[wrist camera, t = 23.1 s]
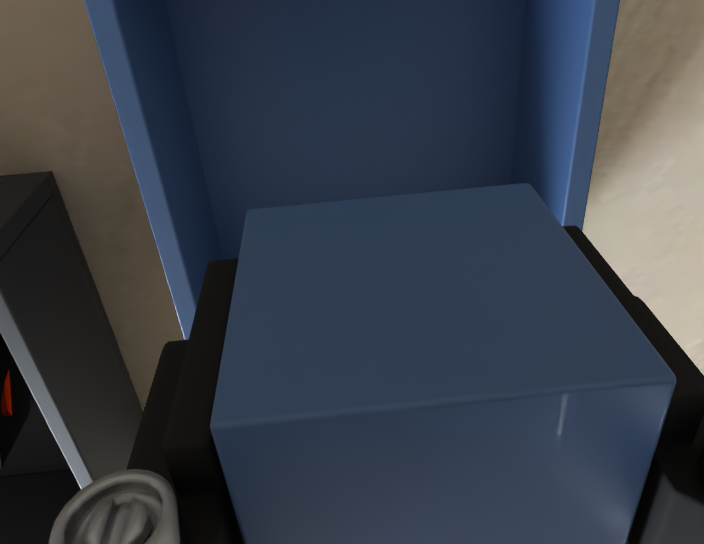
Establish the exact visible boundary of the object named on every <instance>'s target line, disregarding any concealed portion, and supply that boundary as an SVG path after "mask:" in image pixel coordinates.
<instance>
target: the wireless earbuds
mask: <svg viewBox="0 0 704 544" xmlns="http://www.w3.org/2000/svg"><path fill="white" fill-rule="evenodd" d="M30 409H31V404H30V389H29V387H28V385H27V383H26V381H25V379H24V377H23V376H22V374H21V372H20V370H19V368H18V366H17V364H16V362H15V360H14V358H13V356H12V354H11V352H10V350H9V348H8V346H7V344H6V342H5V341H4V339H3V337H2V335H1V333H0V470H1V468H2V466H3V464H4V462H5V461H6V459H7V457H8V455H9V453H10V451H11V449H12V447H13V445H14V443H15V441H16V439H17V437H18V435H19V433H20V431H21V429H22V427H23V426H24V424H25V422H26V420H27V418H28V416H29V413H30Z"/></svg>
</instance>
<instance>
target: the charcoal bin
mask: <svg viewBox="0 0 704 544" xmlns="http://www.w3.org/2000/svg"><path fill="white" fill-rule="evenodd" d="M0 333H1V335H2V337H3V339H4V341H5V342H6V344H7V346H8V348H9V350H10V352H11V354H12V356H13V358H14V360H15V362H16V364H17V366H18V368H19V370H20V372H21V374H22V376H23V377H24V379H25V381H26V383H27V385H28V387H29V389H30V404H31V409H30V413H29V416H28V418H27V420H26V422H25V424H24V426H23V427H22V429H21V431H20V433H19V435H18V437H17V439H16V441H15V443H14V445H13V447H12V449H11V451H10V453H9V455H8V457H7V459H6V461H5V462H4V464H3V466H2V468H1V470H0V544H49V538H50V535H51V531H52V528H53V525H54V522H55V520H56V518H57V517H58V515H59V514H60V512H61V511H62V509H63V507H64V506H65V505H66V504H67V503H68V502H69V501H70V500H71V499H72V498H73V497H74V496H75V495H76V494H77V493H78V492H79V491H80V490H81V489H83V488H84V487H86V486H87V485H89V484H90V483H92V482H93V481H95V480H96V479H99V478H101V477H104V476H106V475H109V474H111V473H114V472H117V471H123V470H126V469H127V465H128V462H129V459H130V455H131V452H132V449H133V445H134V442H135V439H136V435H137V432H138V429H139V426H140V422H141V419H142V416H143V411H142V408H141V406H140V403H139V400H138V398H137V395H136V392H135V390H134V387H133V384H132V382H131V379H130V377H129V374H128V371H127V369H126V366H125V363H124V361H123V358H122V355H121V353H120V350H119V348H118V345H117V342H116V340H115V337H114V334H113V332H112V329H111V326H110V324H109V321H108V319H107V316H106V313H105V311H104V308H103V305H102V303H101V300H100V297H99V295H98V292H97V290H96V287H95V284H94V282H93V279H92V276H91V274H90V271H89V268H88V266H87V263H86V261H85V258H84V255H83V253H82V250H81V247H80V245H79V242H78V239H77V237H76V234H75V232H74V229H73V226H72V224H71V221H70V218H69V216H68V213H67V210H66V208H65V205H64V203H63V200H62V197H61V195H60V192H59V189H58V187H57V184H56V181H55V179H54V176H53V174H52V172H40V173H29V174H18V175H8V176H0Z"/></svg>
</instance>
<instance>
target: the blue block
mask: <svg viewBox="0 0 704 544" xmlns="http://www.w3.org/2000/svg"><path fill="white" fill-rule="evenodd" d="M675 385H676V377H675V374H674V373H673V372H672V370H671V369H670V368H669V366H668V365H667V364H666V362H665V361H664V360H663V358H662V357H661V356H660V355H659V353H658V352H657V351H656V349H655V348H654V347H653V345H652V344H651V343H650V341H649V340H648V339H647V337H646V336H645V335H644V333H643V332H642V331H641V329H640V328H639V327H638V326H637V324H636V323H635V322H634V320H633V319H632V318H631V316H630V315H629V314H628V312H627V311H626V310H625V308H624V307H623V306H622V304H621V303H620V302H619V301H618V299H617V298H616V297H615V295H614V294H613V293H612V291H611V290H610V289H609V287H608V286H607V285H606V283H605V282H604V281H603V279H602V278H601V277H600V275H599V274H598V273H597V272H596V270H595V269H594V268H593V266H592V265H591V264H590V262H589V261H588V260H587V258H586V257H585V256H584V254H583V253H582V252H581V250H580V249H579V248H578V246H577V245H576V244H575V243H574V241H573V240H572V239H571V237H570V236H569V235H568V233H567V232H566V231H565V229H564V228H563V227H562V225H561V224H560V223H559V221H558V220H557V219H556V218H555V216H554V215H553V214H552V212H551V211H550V210H549V208H548V207H547V206H546V204H545V203H544V202H543V200H542V199H541V198H540V196H539V195H538V194H537V192H536V191H535V190H534V189H533V187H532V186H531V185H530V184H529V183H520V184H510V185H499V186H489V187H479V188H468V189H458V190H447V191H437V192H427V193H416V194H406V195H396V196H385V197H375V198H364V199H354V200H344V201H333V202H323V203H313V204H302V205H292V206H281V207H271V208H261V209H250V210H248V211H247V213H246V219H245V225H244V230H243V236H242V242H241V248H240V254H239V259H238V265H237V271H236V277H235V283H234V288H233V294H232V300H231V306H230V312H229V318H228V323H227V329H226V335H225V341H224V347H223V352H222V358H221V364H220V370H219V376H218V382H217V387H216V393H215V399H214V405H213V411H212V416H211V422H210V429H211V432H212V436H213V439H214V442H215V446H216V449H217V453H218V456H219V459H220V463H221V466H222V470H223V473H224V476H225V480H226V483H227V487H228V490H229V493H230V497H231V500H232V504H233V507H234V510H235V514H236V517H237V521H238V524H239V527H240V531H241V534H242V538H243V541H244V544H626V543H627V540H628V537H629V534H630V530H631V527H632V524H633V521H634V518H635V514H636V511H637V508H638V505H639V501H640V498H641V495H642V492H643V488H644V485H645V482H646V479H647V476H648V472H649V469H650V466H651V463H652V459H653V456H654V453H655V450H656V446H657V443H658V440H659V437H660V434H661V430H662V427H663V424H664V421H665V417H666V414H667V411H668V408H669V404H670V401H671V398H672V395H673V392H674V388H675Z"/></svg>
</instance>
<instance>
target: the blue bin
mask: <svg viewBox="0 0 704 544" xmlns="http://www.w3.org/2000/svg"><path fill="white" fill-rule="evenodd" d="M84 2H85V6H86V9H87V12H88V16H89V19H90V22H91V26H92V29H93V33H94V36H95V39H96V43H97V46H98V50H99V53H100V56H101V60H102V63H103V66H104V70H105V73H106V77H107V80H108V83H109V87H110V90H111V93H112V97H113V100H114V104H115V107H116V110H117V114H118V117H119V120H120V124H121V127H122V131H123V134H124V137H125V141H126V144H127V147H128V151H129V154H130V158H131V161H132V164H133V168H134V171H135V174H136V178H137V181H138V185H139V188H140V191H141V195H142V198H143V202H144V205H145V208H146V212H147V215H148V218H149V222H150V225H151V229H152V232H153V235H154V239H155V242H156V245H157V249H158V252H159V256H160V259H161V262H162V266H163V269H164V272H165V276H166V279H167V283H168V286H169V289H170V293H171V296H172V299H173V303H174V306H175V310H176V313H177V316H178V320H179V323H180V326H181V330H182V333H183V337H184V340H189V336H190V332H191V328H192V324H193V320H194V316H195V312H196V308H197V304H198V300H199V296H200V292H201V288H202V284H203V280H204V276H205V272H206V268H207V264H208V262H209V261H214V260H224V259H234V258H239V254H240V248H241V242H242V236H243V230H244V225H245V219H246V213H247V211H248V210H250V209H261V208H271V207H281V206H292V205H302V204H313V203H323V202H333V201H344V200H354V199H364V198H375V197H385V196H396V195H406V194H416V193H427V192H437V191H447V190H458V189H468V188H479V187H489V186H499V185H510V184H520V183H529V184H530V185H531V186H532V187H533V189H534V190H535V191H536V192H537V194H538V195H539V196H540V198H541V199H542V200H543V202H544V203H545V204H546V206H547V207H548V208H549V210H550V211H551V212H552V214H553V215H554V216H555V218H556V219H557V220H558V221H559V223H560V224H561V225H562V226H572V225H575V226H577V227H579V228H580V230H581V231H582V229H583V223H584V217H585V211H586V204H587V198H588V192H589V186H590V180H591V174H592V168H593V162H594V156H595V149H596V143H597V137H598V131H599V125H600V119H601V113H602V107H603V101H604V94H605V88H606V82H607V76H608V70H609V64H610V58H611V52H612V46H613V39H614V33H615V27H616V21H617V15H618V9H619V3H620V0H84Z"/></svg>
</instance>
